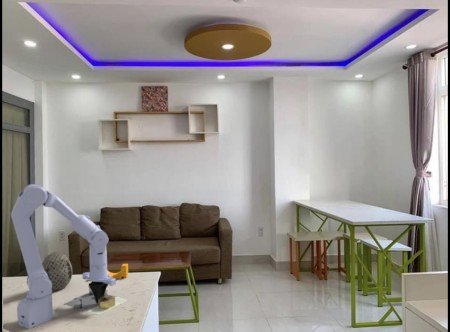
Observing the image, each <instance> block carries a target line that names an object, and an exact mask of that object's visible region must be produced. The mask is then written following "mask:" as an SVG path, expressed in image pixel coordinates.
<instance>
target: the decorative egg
mask: <svg viewBox="0 0 450 332" xmlns="http://www.w3.org/2000/svg"><path fill="white" fill-rule="evenodd" d="M42 265H43V268H44V271H45V272H46V273H47V274H48V278H49V280H50V281H51V282H52V289H51V290H52V292H53V291H60V290H62V289H64V288H66V287H67V286H68V285H69V284H70V282H71V281H72V278H73V266H72V263H71V261H70V259H69V258H68V256H67V255H66V254H64V253H62V252H58V251H55V252H51V253H50V254H48V255H47V256H45V257H44V259H43V260H42Z"/></svg>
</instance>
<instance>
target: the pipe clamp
mask: <svg viewBox="0 0 450 332" xmlns="http://www.w3.org/2000/svg"><path fill="white" fill-rule="evenodd" d="M107 273H109V276H111V277H112V278H115V279H122V278H124V279H127V278H128V277H129V263H123V264H121V268H120V271H118V272H110V271H109V270H108V269H107Z"/></svg>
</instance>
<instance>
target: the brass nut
mask: <svg viewBox="0 0 450 332" xmlns="http://www.w3.org/2000/svg"><path fill="white" fill-rule="evenodd" d="M114 296H115V295H112V296H103V297H101V298H99V299H98V306H99V308H100V309H110V308H112V307H113V306H115V298H114ZM112 309H113V308H112ZM110 310H111V309H110Z"/></svg>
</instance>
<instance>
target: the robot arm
mask: <svg viewBox="0 0 450 332" xmlns="http://www.w3.org/2000/svg"><path fill="white" fill-rule="evenodd" d="M41 206H43V207H45V208H52V209H54V210H55V211H57V213H59V214H60V215H62V217H64V218H66V220H68V221H69V222H70V228H71V229H72V230H73V231H74V232H76V233H77V234H78V235H79V236H80V237H82V238H83V239H84V240H86V241H87V243H89V253H88V255H89V271H88V272H87V271H86V272H83V273H82V280H89V281H90V283H88V288H89V287H90V289H91V290H92V292H93V295H94V298H95V301H96V303H98V299H99V298H101V297H103V296H104V294H105V291H106V288H107V289H108V286H110V287H113V286H115V285H116V284H117V282H116V281H117V278H112V277H111V276H109V273H107V270H108V256H107V255H108V254H107V253H108V252H107V250H108V249H107V245H108V243H109V236H108V234H107V233H106V231H104V230H102V229H101V226H100V225H99V224H97V225H96V224H95V223H94V222H93V220H91V217H90V216H89V215H86V214H77V213H76V212H75V211H74V210H73V208H71V207H69V205H68V204H67V203H65V202H64V201H63V200H62V199H61V198H60V197H58V196H57V195H56V194H54V193H52V192H50V191H48V190H47V189H46V188H44V187H42V186H41V185H39V184H36V183H30V184H27V185H26V186H25V187H24V188H23V189H22V190H21V191H20V192H18V195H17V199H16V201H15V202H14V205H13V208H12V210H11V213H10V216H11V220H12V223H13V227H14V230H15V234H16V237H17V241H18V244H19V249H20V251H21V255H22V259H23V262H24V264H25V269H26V273H27V277H26V284H27V286H28V287H27V288H28V291H27V293H26V297H25V298H24V299H22V300H21V301H19V302H18V303H17V309H16V312H17V315H16V316H17V325H18V326H21V327H23V328H26V329H28V330H29V329H32V328H34V327H37V326H39V325H41V324H45V323H47V322H49V321H51V320H52V319H53V318H54V312H53V311H54V308H53V304H54V303H53V291H52V290H51V289H52V282H51V281H50V280H49V278H48V274H47V273H46V272H45V271H44V268H43V265H42V262H43V260H42V258H41V255H40V251H39V247H38V244H37V239H36V237H35V233H34V229H33V226H32V222H31V219H30V218H31V216H32V215H33V214H34V212H35V211H36V210H37V209H38V208H39V207H41Z"/></svg>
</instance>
